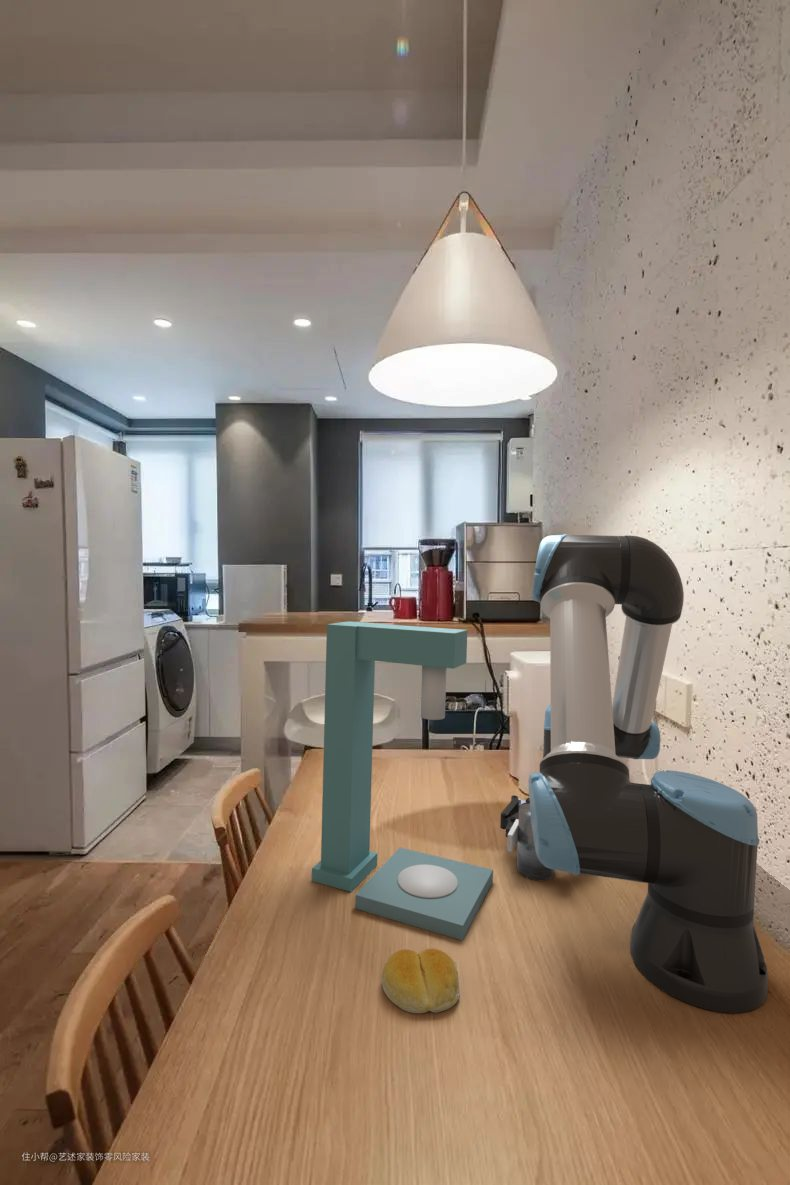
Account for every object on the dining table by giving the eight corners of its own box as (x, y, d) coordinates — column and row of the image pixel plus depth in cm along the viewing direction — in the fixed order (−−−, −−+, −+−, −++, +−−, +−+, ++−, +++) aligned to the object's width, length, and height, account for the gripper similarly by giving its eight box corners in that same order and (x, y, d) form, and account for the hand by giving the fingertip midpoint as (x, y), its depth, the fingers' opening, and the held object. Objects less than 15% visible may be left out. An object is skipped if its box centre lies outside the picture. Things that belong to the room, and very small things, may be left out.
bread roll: (380, 966, 70) (381, 934, 70) (453, 966, 71) (454, 935, 71) (382, 1018, 62) (383, 982, 62) (464, 1018, 63) (465, 982, 62)
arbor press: (492, 882, 90) (501, 629, 89) (462, 940, 76) (472, 638, 74) (349, 846, 101) (356, 619, 99) (299, 891, 86) (305, 626, 85)
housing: (560, 880, 92) (563, 805, 91) (523, 881, 91) (526, 806, 90) (546, 861, 97) (549, 791, 97) (512, 862, 97) (514, 791, 96)
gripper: (604, 826, 107) (594, 886, 86) (504, 806, 114) (471, 857, 93) (606, 786, 106) (596, 837, 85) (505, 769, 114) (472, 812, 93)
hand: (530, 847), depth 89 cm, fingers closed on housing, 6 cm apart
